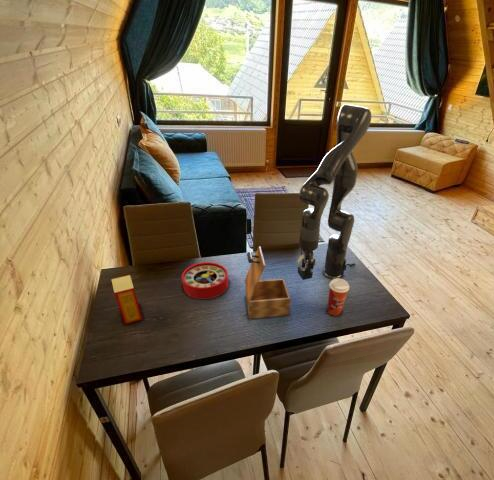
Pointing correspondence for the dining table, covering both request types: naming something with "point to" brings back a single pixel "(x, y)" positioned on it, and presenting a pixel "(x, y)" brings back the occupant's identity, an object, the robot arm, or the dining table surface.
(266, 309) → the chest
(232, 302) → the dining table surface
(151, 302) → the dining table surface
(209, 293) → the toy clock
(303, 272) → the watch
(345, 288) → the coffee cup
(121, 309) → the baking soda box
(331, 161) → the robot arm
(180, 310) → the dining table surface
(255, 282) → the lid
